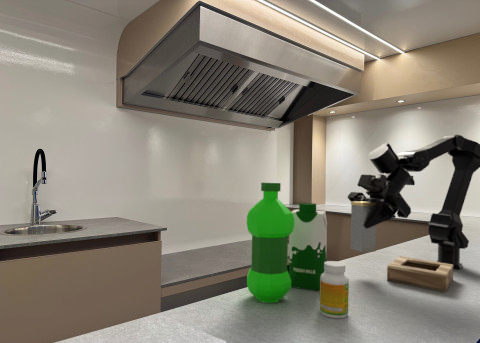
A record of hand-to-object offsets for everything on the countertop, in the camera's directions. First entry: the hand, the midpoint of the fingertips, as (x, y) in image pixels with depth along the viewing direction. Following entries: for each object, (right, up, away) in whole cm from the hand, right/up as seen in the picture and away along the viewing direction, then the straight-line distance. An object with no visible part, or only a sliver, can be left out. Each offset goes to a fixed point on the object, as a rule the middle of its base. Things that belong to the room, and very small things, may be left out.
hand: (359, 225), depth 91 cm
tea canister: (+1, -7, 0) cm, 7 cm away
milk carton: (-16, -13, -8) cm, 22 cm away
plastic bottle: (-26, -13, -18) cm, 34 cm away
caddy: (+15, -14, -3) cm, 20 cm away
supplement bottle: (-14, -13, -25) cm, 32 cm away
